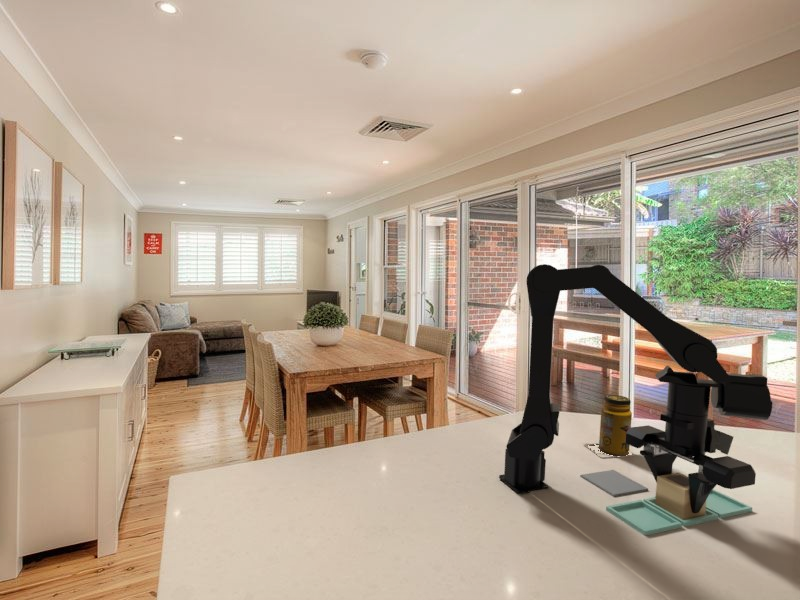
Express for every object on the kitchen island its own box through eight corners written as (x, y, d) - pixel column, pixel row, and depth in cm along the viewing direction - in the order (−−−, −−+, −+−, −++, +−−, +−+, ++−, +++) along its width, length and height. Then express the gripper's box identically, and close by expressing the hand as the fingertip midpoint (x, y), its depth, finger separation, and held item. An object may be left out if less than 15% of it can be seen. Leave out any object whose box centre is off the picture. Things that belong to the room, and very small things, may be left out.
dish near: (644, 537, 68) (645, 531, 68) (605, 511, 75) (606, 506, 75) (681, 528, 71) (682, 523, 71) (640, 504, 78) (641, 499, 78)
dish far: (720, 520, 74) (720, 514, 74) (677, 497, 81) (678, 492, 81) (751, 512, 77) (752, 507, 77) (708, 491, 84) (708, 486, 84)
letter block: (682, 520, 73) (684, 489, 72) (655, 505, 77) (657, 475, 77) (705, 515, 74) (707, 485, 74) (676, 500, 79) (679, 471, 79)
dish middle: (683, 528, 71) (684, 522, 71) (643, 504, 78) (643, 499, 78) (718, 520, 74) (718, 515, 74) (675, 498, 81) (675, 493, 81)
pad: (613, 498, 80) (613, 494, 80) (580, 477, 88) (580, 474, 88) (647, 491, 83) (648, 488, 83) (613, 472, 90) (613, 469, 90)
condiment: (638, 457, 99) (641, 401, 98) (600, 458, 97) (604, 402, 97) (617, 444, 106) (620, 392, 105) (582, 445, 105) (585, 392, 104)
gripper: (784, 425, 69) (775, 526, 70) (672, 392, 86) (665, 474, 87) (733, 432, 65) (724, 539, 66) (626, 396, 82) (620, 481, 84)
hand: (680, 504), depth 76 cm, fingers closed on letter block, 5 cm apart
